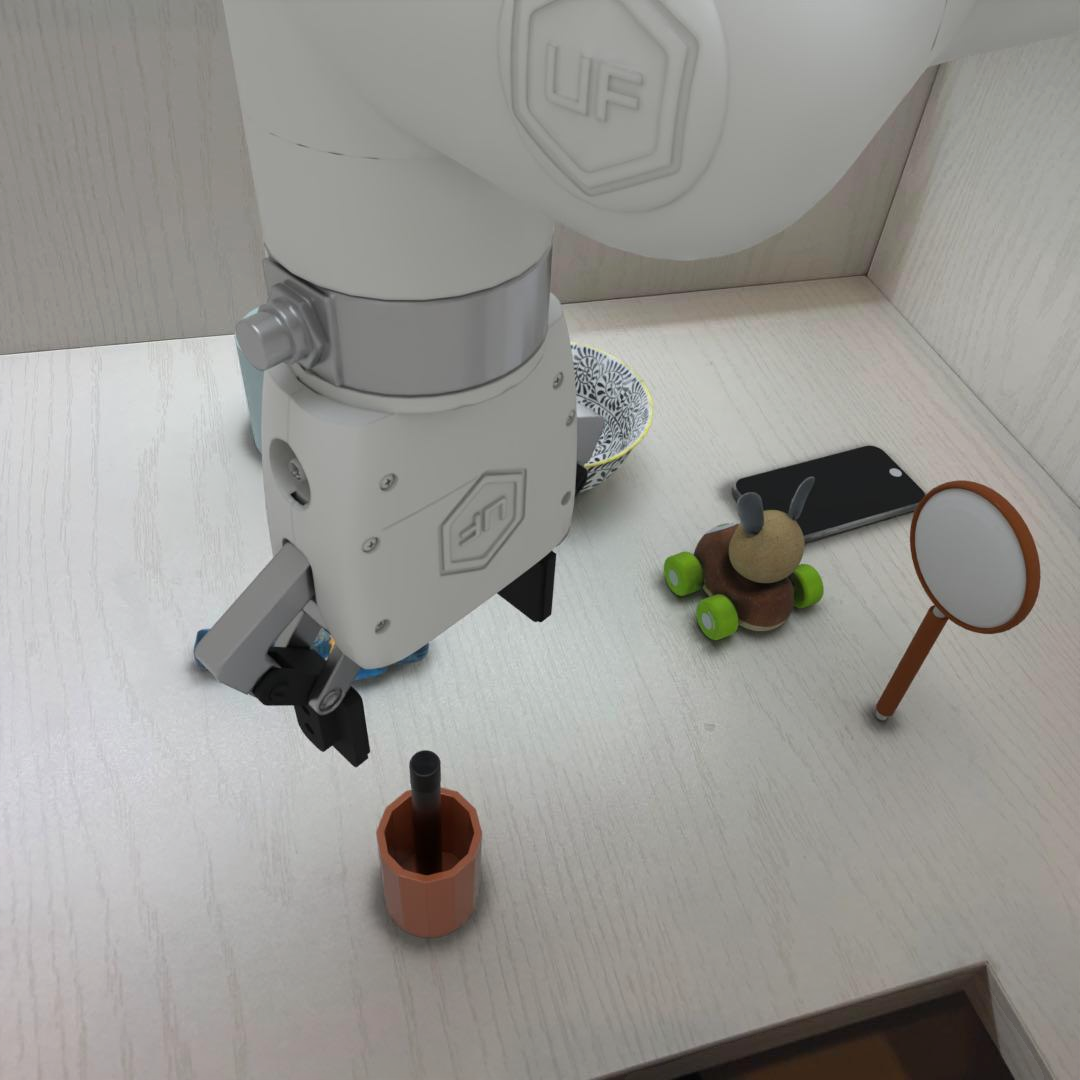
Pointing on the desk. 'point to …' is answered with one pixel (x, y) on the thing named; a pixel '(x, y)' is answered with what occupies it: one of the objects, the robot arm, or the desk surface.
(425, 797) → the stylus
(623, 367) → the bowl
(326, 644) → the figurine
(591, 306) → the desk surface
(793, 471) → the smartphone
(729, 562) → the toy car
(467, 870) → the pen pot
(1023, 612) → the magnifying glass
